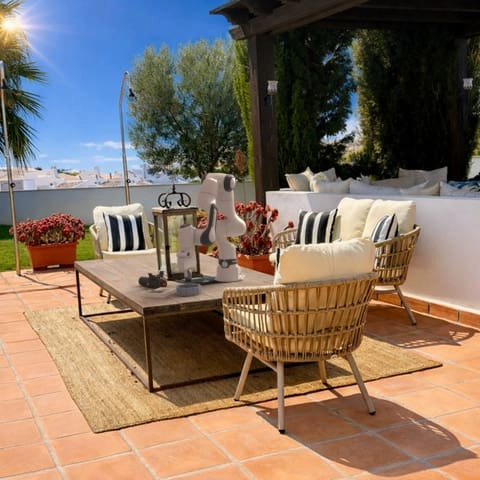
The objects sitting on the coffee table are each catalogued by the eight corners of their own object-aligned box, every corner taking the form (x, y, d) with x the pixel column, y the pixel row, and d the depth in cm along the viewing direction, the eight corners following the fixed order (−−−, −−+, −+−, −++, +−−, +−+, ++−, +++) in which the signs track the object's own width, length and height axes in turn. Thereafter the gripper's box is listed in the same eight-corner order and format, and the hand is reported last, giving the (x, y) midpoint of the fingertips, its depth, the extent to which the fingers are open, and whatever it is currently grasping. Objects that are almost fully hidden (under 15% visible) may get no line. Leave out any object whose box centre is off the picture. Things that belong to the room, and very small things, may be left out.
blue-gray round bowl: (182, 291, 372) (182, 283, 372) (204, 291, 368) (203, 283, 367) (172, 295, 359) (172, 288, 358) (195, 296, 355) (195, 288, 354)
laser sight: (148, 284, 401) (147, 269, 400) (170, 287, 385) (170, 271, 384) (136, 286, 394) (135, 271, 393) (158, 290, 378) (157, 274, 377)
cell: (186, 280, 365) (185, 268, 364) (192, 280, 364) (192, 268, 363) (183, 281, 361) (183, 269, 360) (190, 282, 360) (189, 269, 359)
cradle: (160, 290, 378) (159, 285, 377) (178, 290, 374) (178, 285, 374) (144, 297, 358) (144, 292, 358) (163, 297, 354) (163, 292, 354)
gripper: (188, 250, 371) (189, 273, 373) (174, 254, 352) (176, 278, 353) (198, 250, 369) (199, 273, 371) (185, 254, 350) (186, 279, 351)
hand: (188, 276), depth 362 cm, fingers closed on cell, 4 cm apart
